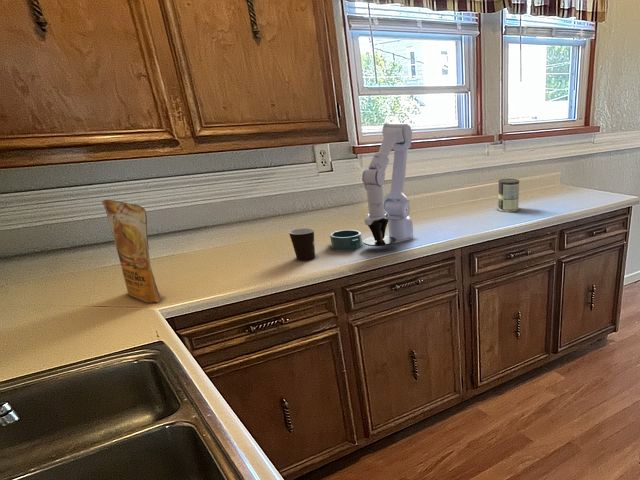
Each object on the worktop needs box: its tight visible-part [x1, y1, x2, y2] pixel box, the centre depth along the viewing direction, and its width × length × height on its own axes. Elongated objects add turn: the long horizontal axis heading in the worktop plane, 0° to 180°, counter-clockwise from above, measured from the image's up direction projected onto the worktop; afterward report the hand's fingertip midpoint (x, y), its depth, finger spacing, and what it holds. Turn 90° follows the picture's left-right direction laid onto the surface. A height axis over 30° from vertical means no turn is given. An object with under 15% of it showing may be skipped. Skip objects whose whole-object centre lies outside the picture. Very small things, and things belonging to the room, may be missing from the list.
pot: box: [329, 229, 363, 251], centre depth 202 cm, size 12×17×5 cm
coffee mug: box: [288, 227, 316, 262], centre depth 190 cm, size 12×9×10 cm
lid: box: [362, 231, 397, 247], centre depth 197 cm, size 13×13×5 cm
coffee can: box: [497, 178, 520, 213], centre depth 257 cm, size 10×10×14 cm
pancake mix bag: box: [101, 199, 162, 304], centre depth 152 cm, size 7×19×28 cm, turn 56°
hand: (379, 239), depth 198 cm, fingers closed on lid, 2 cm apart
